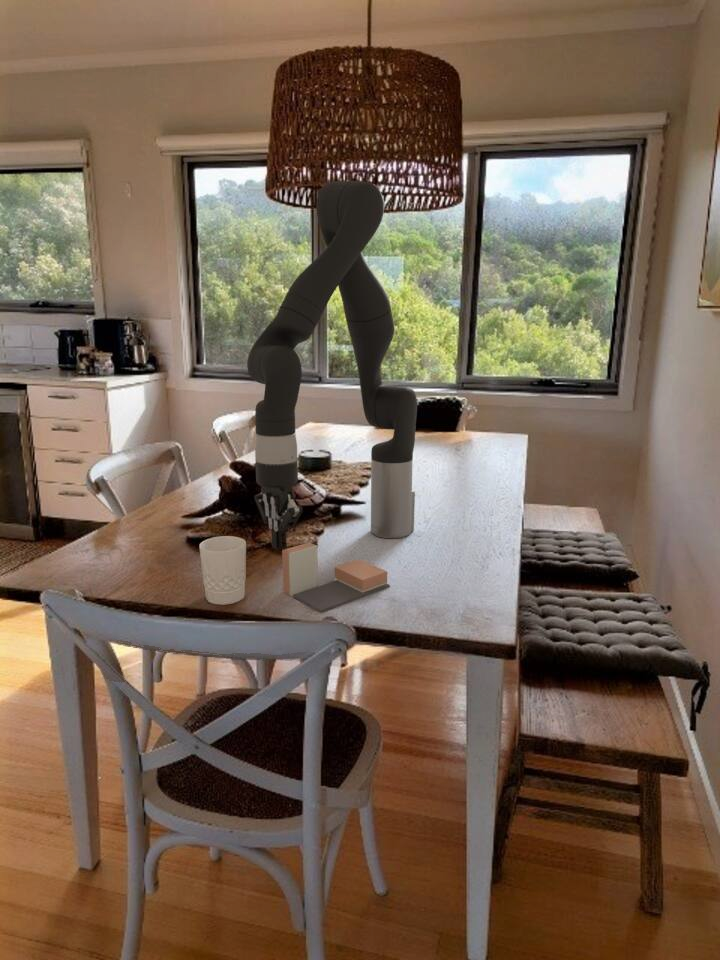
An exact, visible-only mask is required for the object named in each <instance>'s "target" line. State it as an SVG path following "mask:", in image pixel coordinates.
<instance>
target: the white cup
mask: <svg viewBox="0 0 720 960" xmlns="http://www.w3.org/2000/svg"><path fill="white" fill-rule="evenodd" d="M199 555H200V562H201V563H200V564H201V566H200V567H201V572H202V581H203V585H204V593H205V600H207V602H209V603H210V604H213V605H220V606H225V605H231V604H236V603H238V602H240V601H241V600H243V599H244V597H245V595H246V576H247V573H246V572H247V542H246V540H245V539H243V538H242V537H239V536H238V537H237V536H233V535H226V536H225V535H222V536H214V537H211V538H207V539H204V540H203V541H202V542H200V543H199Z"/></svg>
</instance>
